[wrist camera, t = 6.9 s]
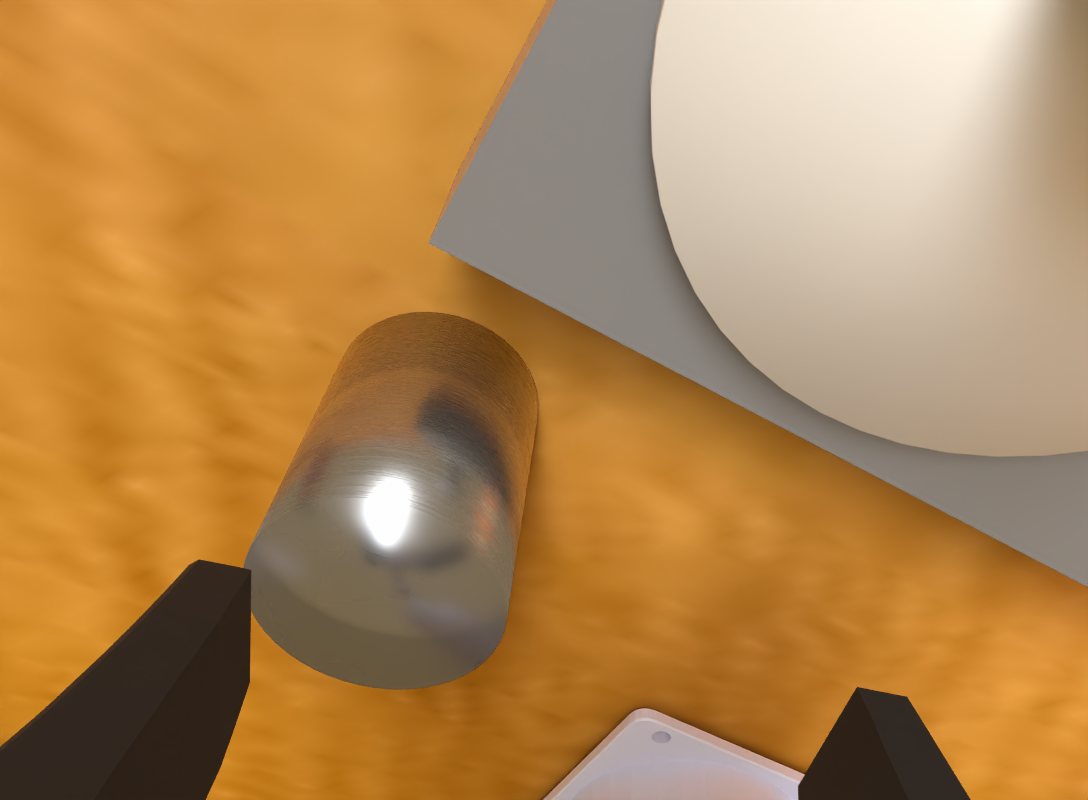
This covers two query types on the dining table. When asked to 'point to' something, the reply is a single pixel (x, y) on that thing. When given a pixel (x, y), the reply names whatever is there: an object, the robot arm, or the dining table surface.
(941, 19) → the kitchen scale
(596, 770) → the robot arm
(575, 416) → the dining table surface
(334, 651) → the steel weight
